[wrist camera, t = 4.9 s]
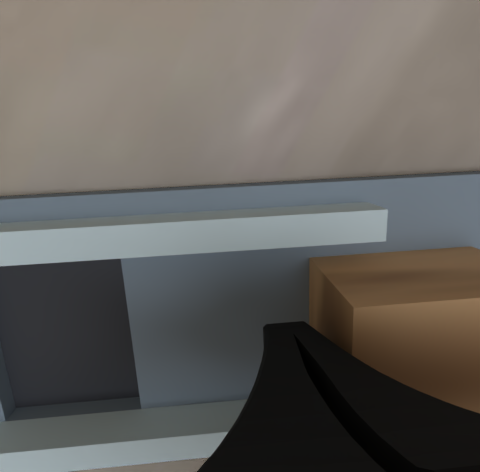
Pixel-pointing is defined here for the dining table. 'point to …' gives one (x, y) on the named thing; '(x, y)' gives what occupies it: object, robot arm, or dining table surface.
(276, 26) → the dining table surface
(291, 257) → the channel
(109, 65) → the dining table surface
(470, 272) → the block
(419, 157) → the dining table surface
